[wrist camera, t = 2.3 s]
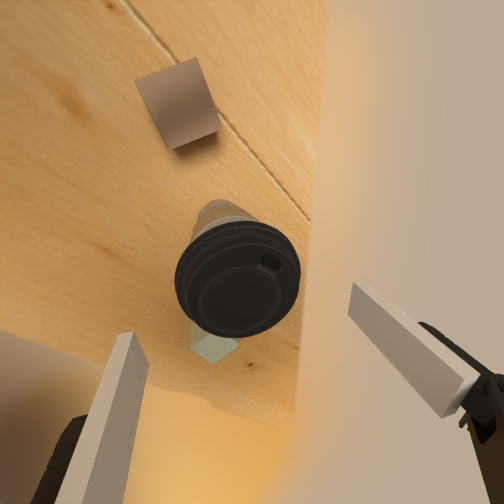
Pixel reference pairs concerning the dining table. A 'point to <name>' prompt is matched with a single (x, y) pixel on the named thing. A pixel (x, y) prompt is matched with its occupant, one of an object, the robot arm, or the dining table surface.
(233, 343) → the sage cube
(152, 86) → the walnut cube
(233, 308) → the coffee cup
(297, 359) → the dining table surface
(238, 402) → the dining table surface
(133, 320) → the dining table surface
